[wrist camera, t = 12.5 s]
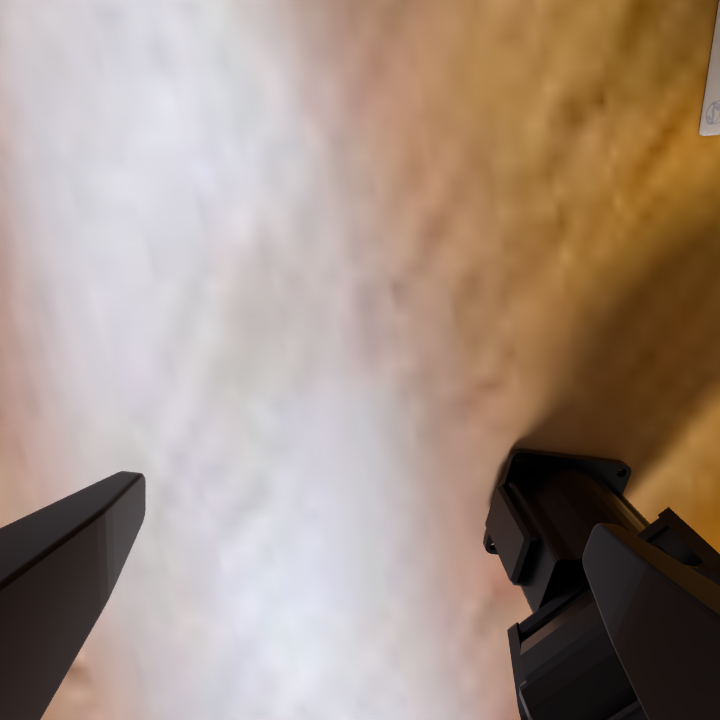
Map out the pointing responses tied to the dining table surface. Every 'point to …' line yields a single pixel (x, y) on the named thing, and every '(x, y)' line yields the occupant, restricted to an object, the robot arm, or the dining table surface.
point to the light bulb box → (712, 88)
